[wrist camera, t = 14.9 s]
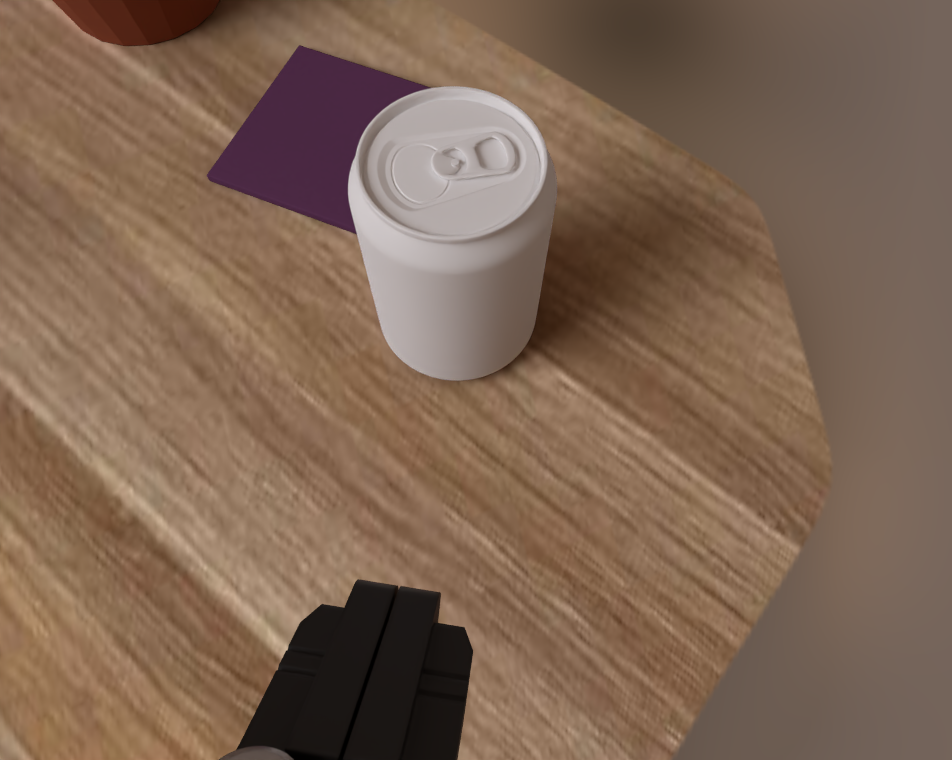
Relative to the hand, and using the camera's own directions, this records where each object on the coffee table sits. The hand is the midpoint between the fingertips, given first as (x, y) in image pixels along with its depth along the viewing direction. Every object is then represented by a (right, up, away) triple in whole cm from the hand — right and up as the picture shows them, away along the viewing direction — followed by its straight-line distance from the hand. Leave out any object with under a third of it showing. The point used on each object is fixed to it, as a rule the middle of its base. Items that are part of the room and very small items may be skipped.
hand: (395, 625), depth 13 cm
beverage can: (0, +8, +25) cm, 26 cm away
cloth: (-6, +18, +29) cm, 35 cm away
